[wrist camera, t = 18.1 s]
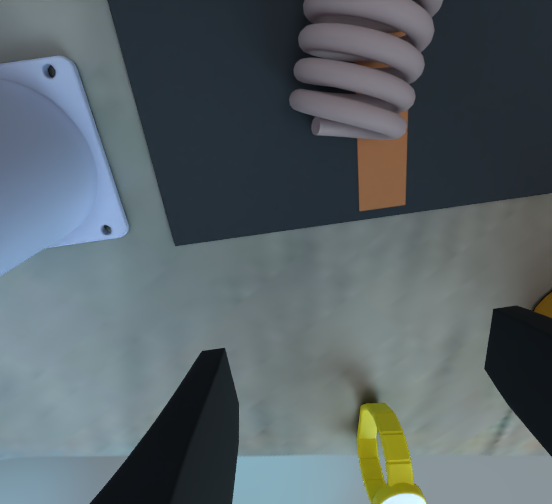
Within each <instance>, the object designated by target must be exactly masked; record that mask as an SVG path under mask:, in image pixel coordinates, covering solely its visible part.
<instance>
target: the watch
mask: <svg viewBox="0 0 552 504" xmlns="http://www.w3.org/2000/svg"><path fill="white" fill-rule="evenodd" d="M377 429H378V432H379V434H380V438H381V443H382V447H383V452H384V457H385V461H386V472H387V484H386V483H385V481H384V477H383V473H382V469H381V465H380V461H379V458H378V457H379V456H378V448H377V440H376V435H377ZM356 437H357V448H358V457H359V463H360V468H361V473H362V478H363V481H364V485H365V488H366V491H367V494H368V497H369V500H370V502H371V504H426V500H425V498H424V496H423V494H422V491H421V489H420V488H419V487H418V486H417V485H416V484H414V482H413V472H412V463H411V462H410V460H411V458H410V454H409V450H408V446H407V442H406V438H405V435H404V434H403V430H402V427H401V425H400V423H399V421H398V419H397V417H396V414H395V413H394V412H393V411H392V410H391V409H390V408H389V407H388V406H387V405H386V404H385V403H366V404H363V405H361V406H360V416H359V424H358V433H357V435H356Z"/></svg>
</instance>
